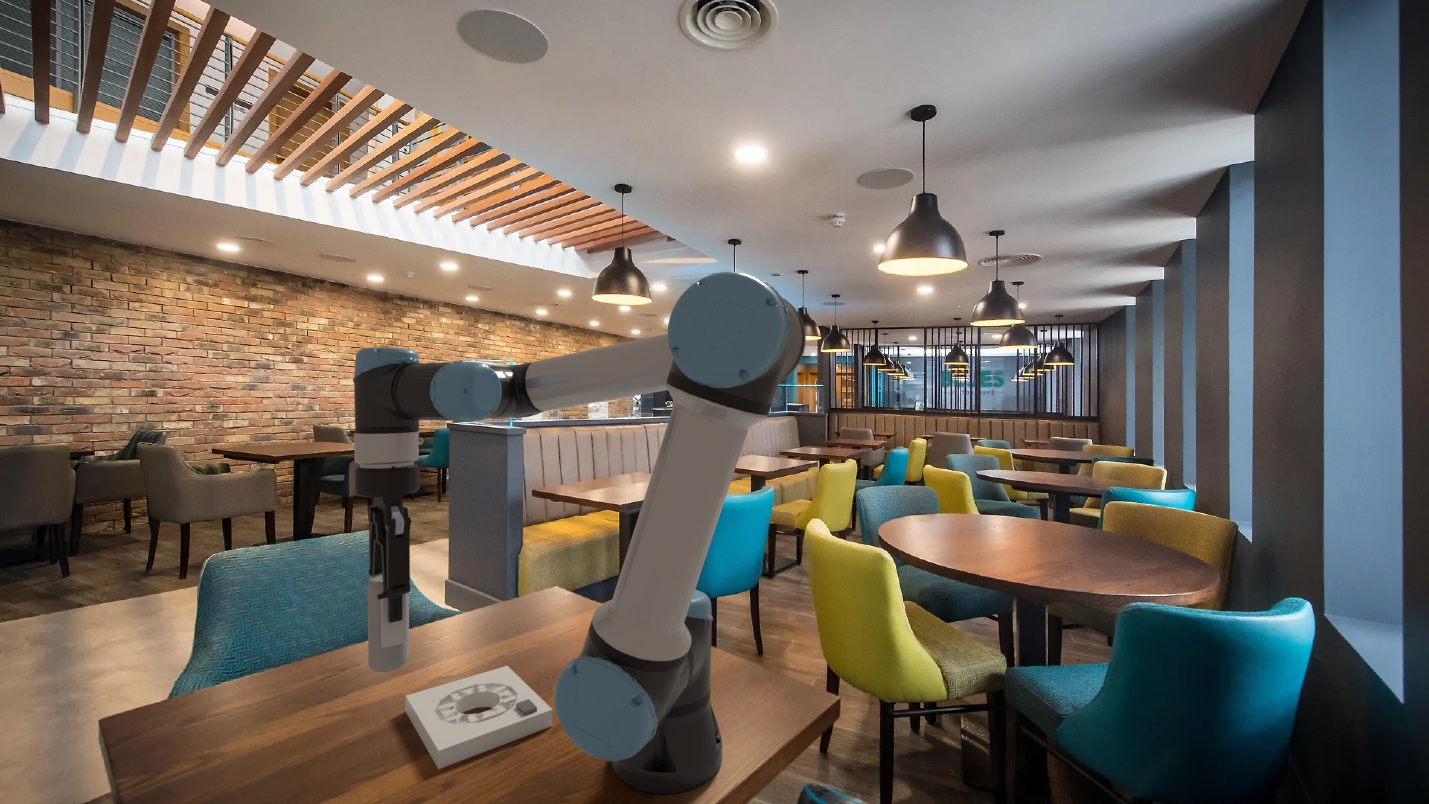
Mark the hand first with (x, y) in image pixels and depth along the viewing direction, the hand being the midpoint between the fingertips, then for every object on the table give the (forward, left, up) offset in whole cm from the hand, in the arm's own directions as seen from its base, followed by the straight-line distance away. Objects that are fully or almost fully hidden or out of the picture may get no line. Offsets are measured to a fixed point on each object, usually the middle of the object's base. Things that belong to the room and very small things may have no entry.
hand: (388, 637), depth 78 cm
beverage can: (0, 0, -4) cm, 4 cm away
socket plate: (+3, -13, -17) cm, 22 cm away
